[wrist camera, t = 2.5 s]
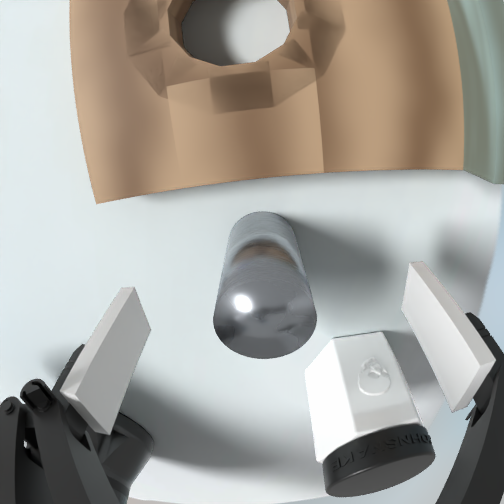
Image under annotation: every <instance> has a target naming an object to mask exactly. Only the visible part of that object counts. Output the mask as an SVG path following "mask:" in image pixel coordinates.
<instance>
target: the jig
mask: <svg viewBox="0 0 504 504" xmlns="http://www.w3.org/2000/svg"><path fill="white" fill-rule="evenodd" d="M193 1H195V0H70V49H71V63H72V75H73V85H74V93H75V101H76V108H77V115H78V121H79V127H80V133H81V139H82V144H83V149H84V154H85V159H86V164H87V168H88V172H89V177H90V181H91V185H92V189H93V193H94V197H95V201H96V204H99V203H104V202H109V201H114V200H119V199H124V198H129V197H135V196H140V195H146V194H151V193H157V192H163V191H169V190H175V189H182V188H188V187H195V186H202V185H209V184H217V183H224V182H232V181H241V180H249V179H258V178H268V177H278V176H289V175H301V174H314V173H328V172H345V171H366V170H404V169H442V170H464V171H467V172H469V173H471V174H474V175H476V176H478V177H480V178H482V179H485V180H487V181H489V182H491V183H493V184H504V2H503V0H278V1H279V2H280V3H281V5H282V6H283V7H284V8H285V9H286V10H287V16H288V22H289V28H290V33H289V35H288V37H287V39H286V41H285V43H284V44H283V45H282V46H280V47H279V48H277V49H275V50H274V51H272V52H270V53H269V54H267V55H266V56H264V57H263V58H261V59H259V60H258V61H256V62H252V63H243V64H235V65H228V66H221V67H220V66H217V65H214V64H211V63H208V62H205V61H202V60H199V59H195V58H193V57H192V55H191V54H190V53H189V52H188V51H187V50H186V49H185V48H184V44H183V36H182V27H181V23H182V21H183V19H184V17H185V15H186V13H187V12H188V10H189V8H190V6H191V4H192V2H193Z"/></svg>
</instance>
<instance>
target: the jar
mask: <svg viewBox="0 0 504 504" xmlns="http://www.w3.org/2000/svg"><path fill="white" fill-rule="evenodd" d="M305 379H306V386H307V393H308V400H309V408H310V415H311V423H312V430H313V438H314V446H315V455H316V461H317V462H319V463H321V464H322V465H323V473H324V482H325V490H326V493H327V494H329V495H331V496H335V497H353V496H360V495H365V494H370V493H374V492H378V491H381V490H384V489H387V488H390V487H393V486H395V485H398V484H400V483H402V482H404V481H406V480H409V479H410V478H412V477H414V476H416V475H418V474H419V473H421V472H422V471H423V470H425V469H426V468H427V467H429V465H431V464H432V462H433V461H434V459H435V452H434V449H433V446H432V442H431V440H430V439H431V438H430V436H429V435H428V432H427V430H426V428H425V426H424V424H423V421H422V418H421V416H420V413H419V411H418V408H417V406H416V403H415V400H414V398H413V396H412V393H411V391H410V388H409V386H408V383H407V381H406V379H405V376H404V374H403V372H402V369H401V367H400V365H399V363H398V360H397V358H396V356H395V354H394V352H393V350H392V348H391V347H390V345H389V343H388V341H387V339H386V337H385V335H384V333H383V332H375V333H368V334H362V335H355V336H348V337H340V338H333V339H331V340H330V342H329V343H328V344H327V345H326V347H325V348H324V349H323V350H322V351H321V353H320V354H319V355H318V356H317V357H316V359H315V360H314V361H313V362H312V363H311V364H310V366H309V367H308V368H307V369H306V370H305Z"/></svg>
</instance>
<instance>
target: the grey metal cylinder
mask: <svg viewBox="0 0 504 504" xmlns="http://www.w3.org/2000/svg"><path fill="white" fill-rule="evenodd" d="M316 322H317V314H316V310H315V306H314V302H313V298H312V294H311V291H310V287H309V283H308V280H307V276H306V272H305V269H304V265H303V261H302V258H301V254H300V251H299V247H298V244H297V240H296V237H295V233H294V231H293V228H292V227H291V225H290V224H289V223H288V222H287V221H286V220H285V219H284V218H282V217H281V216H279V215H277V214H274V213H271V212H254V213H251V214H248V215H246V216H244V217H243V218H241V219H240V220H239V221H238V222H237V223H236V224H235V225H234V227H233V228H232V230H231V232H230V236H229V240H228V245H227V250H226V255H225V260H224V265H223V270H222V275H221V280H220V285H219V290H218V295H217V301H216V306H215V311H214V316H213V324H214V329H215V331H216V334H217V336H218V337H219V339H220V340H221V341H222V342H223V343H224V344H225V345H226V346H227V347H228V348H229V349H231V350H233V351H234V352H236V353H238V354H241V355H244V356H247V357H251V358H258V359H270V358H277V357H281V356H284V355H287V354H290V353H292V352H294V351H296V350H297V349H299V348H300V347H302V346H303V345H304V344H305V343H306V342H307V341H308V340H309V339H310V337H311V336H312V334H313V332H314V330H315V327H316Z"/></svg>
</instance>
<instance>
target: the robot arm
mask: <svg viewBox="0 0 504 504" xmlns="http://www.w3.org/2000/svg"><path fill="white" fill-rule="evenodd" d="M401 310H402V312H403V314H404V315H405V317H406V319H407V321H408V323H409V325H410V326H411V328H412V330H413V332H414V334H415V336H416V338H417V340H418V342H419V344H420V345H421V347H422V349H423V351H424V353H425V355H426V357H427V359H428V361H429V363H430V366H431V368H432V370H433V372H434V374H435V376H436V378H437V380H438V382H439V385H440V387H441V389H442V391H443V393H444V396H445V398H446V400H447V402H448V405H449V407H450V409H451V412H455V411H458V410H460V409H463V408H465V407H467V406H468V405H469V403H470V402H471V400H472V399H474V401H475V403H476V405H475V406H474V408H473V409H472V410H471V412H470V413H469V414H468V416H467V418H466V419H465V420H468V419H469V418H470V416H471V418H470V421H469V424H468V427H467V431H466V434H465V437H464V439H463V442H462V445H461V448H460V450H459V453H458V456H457V458H456V460H455V463H454V466H453V468H452V470H451V472H450V475H449V477H448V479H447V481H446V484H445V486H444V488H443V490H442V492H441V494H440V496H439V498H438V500H437V502H436V504H500V501H501V499H502V495H503V493H504V354H503V352H502V350H501V349H500V347H499V346H498V345H497V343H496V342H495V340H494V339H493V337H492V336H490V333H489V332H488V330H487V329H485V326H484V325H483V323H482V322H481V321H480V319H479V318H477V317H476V316H475V315H473V314H472V313H466V314H464V312H463V311H462V310H461V308H460V307H459V306H458V304H457V303H456V302H455V300H454V299H453V298H452V296H451V295H450V294H449V293H448V291H447V290H446V289H445V288H444V286H443V285H442V284H441V283H440V281H439V280H438V279H437V278H436V276H435V275H434V274H433V273H432V272H431V270H430V269H429V268H428V267H427V266H426V264H425V263H424V262H423V261H421V262H412V263H409V269H408V275H407V281H406V286H405V292H404V297H403V302H402V307H401ZM150 331H151V328H150V326H149V323H148V321H147V318H146V316H145V313H144V311H143V308H142V305H141V303H140V300H139V298H138V295H137V292H136V290H135V287H126V288H121V289H120V291H119V292H118V294H117V295H116V297H115V298H114V300H113V301H112V303H111V305H110V306H109V308H108V309H107V311H106V312H105V314H104V315H103V317H102V319H101V320H100V322H99V323H98V325H97V327H96V328H95V330H94V332H93V333H92V335H91V337H90V338H89V340H88V342H87V343H86V345H84V344H82V345H81V346H80V347H79V348H77V349H76V350H75V351H74V353H73V354H72V356H71V358H70V359H69V362H68V363H67V364H66V366H65V369H64V370H63V371H62V373H61V375H60V377H59V378H58V380H57V382H56V384H55V386H54V387H53V389H52V391H51V390H50V389H49V388H48V386H47V385H46V384H45V382H44V381H42V380H41V379H34V380H31V381H29V382H28V383H26V384H25V386H24V387H23V388H22V390H21V393H20V398H21V399H22V400H23V401H24V402H25V403H26V404H22V403H21V402H20V401H19V399H18V398H16V397H8V398H6V399H5V400H4V401H3V402H2V404H1V405H0V504H127V500H128V495H129V491H130V487H131V485H132V483H133V482H134V480H135V479H136V478H137V476H138V475H139V473H140V472H141V471H142V469H143V468H144V466H145V465H146V463H147V462H148V460H149V459H150V457H151V454H152V449H153V445H154V443H153V440H152V438H151V436H150V435H149V434H148V433H147V432H146V431H145V430H144V429H143V428H142V427H140V426H139V425H138V424H136V423H135V422H133V421H132V420H130V419H129V418H127V417H125V416H124V415H122V414H120V413H118V411H119V409H120V406H121V403H122V401H123V398H124V395H125V393H126V390H127V388H128V385H129V383H130V380H131V377H132V375H133V372H134V370H135V367H136V365H137V363H138V360H139V358H140V355H141V353H142V350H143V348H144V346H145V343H146V341H147V338H148V336H149V334H150ZM24 441H25V442H27V447H26V448H25V447H24Z"/></svg>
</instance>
